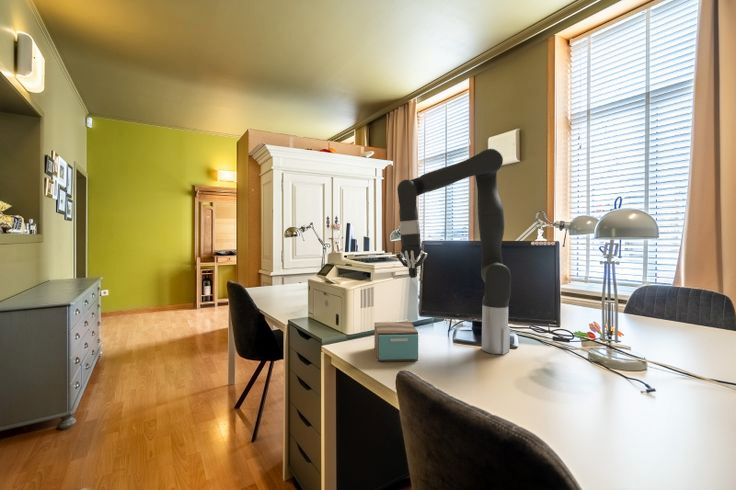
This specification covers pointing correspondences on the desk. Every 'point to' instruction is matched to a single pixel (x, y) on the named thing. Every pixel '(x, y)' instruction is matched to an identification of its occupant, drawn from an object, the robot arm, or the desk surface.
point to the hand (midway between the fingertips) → (413, 277)
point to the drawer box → (392, 329)
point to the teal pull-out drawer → (398, 347)
